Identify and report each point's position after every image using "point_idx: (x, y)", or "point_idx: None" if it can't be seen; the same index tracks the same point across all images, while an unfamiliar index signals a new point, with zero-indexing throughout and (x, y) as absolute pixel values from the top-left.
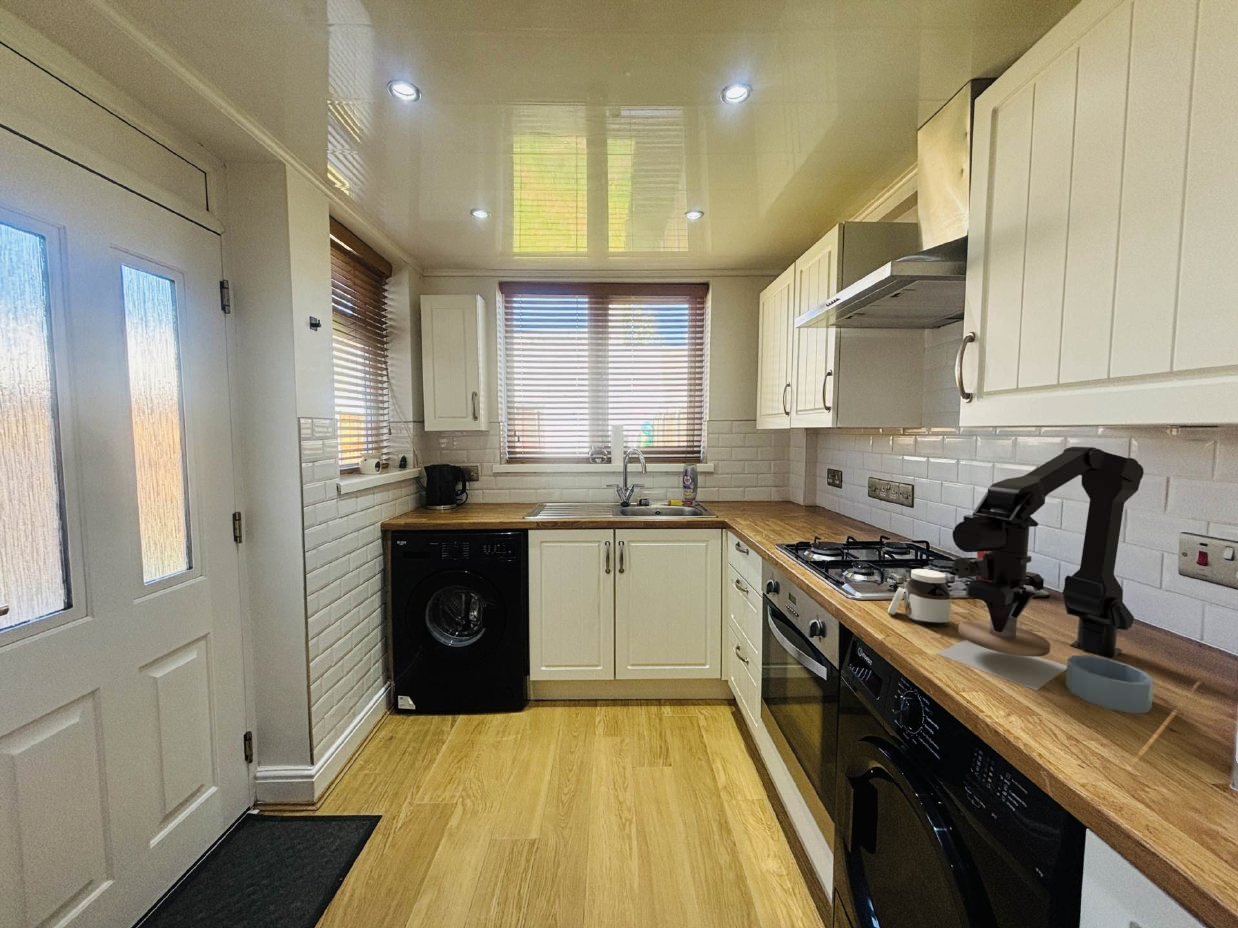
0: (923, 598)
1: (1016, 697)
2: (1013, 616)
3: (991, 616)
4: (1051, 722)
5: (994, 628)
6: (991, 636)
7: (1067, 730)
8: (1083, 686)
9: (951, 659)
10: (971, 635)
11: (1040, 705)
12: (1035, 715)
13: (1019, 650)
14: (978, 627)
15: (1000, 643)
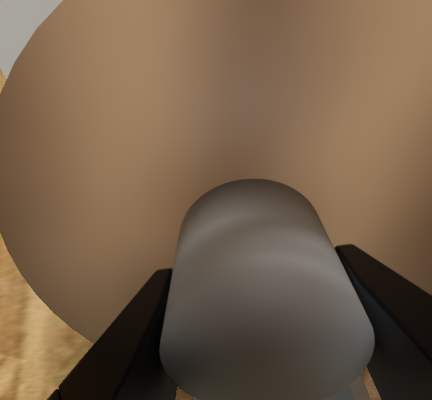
0: None
1: (34, 307)
2: (373, 371)
3: (81, 370)
4: (17, 373)
5: (148, 282)
6: (150, 231)
7: (24, 391)
8: (195, 398)
9: (3, 71)
10: (19, 175)
11: (63, 341)
12: (5, 355)
13: None
14: (228, 97)
15: (102, 298)
